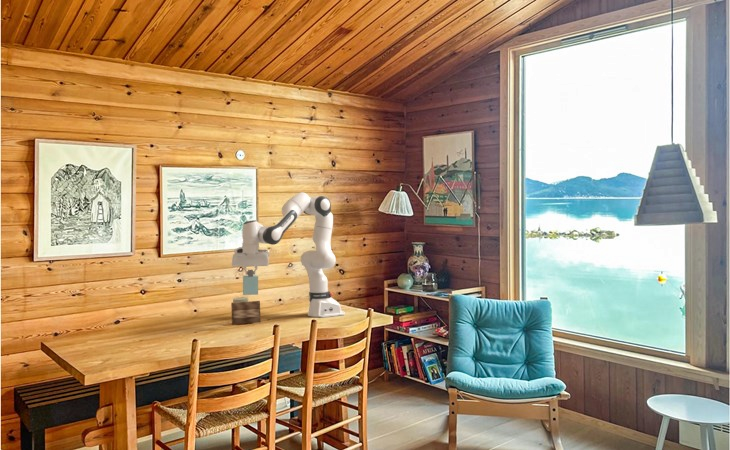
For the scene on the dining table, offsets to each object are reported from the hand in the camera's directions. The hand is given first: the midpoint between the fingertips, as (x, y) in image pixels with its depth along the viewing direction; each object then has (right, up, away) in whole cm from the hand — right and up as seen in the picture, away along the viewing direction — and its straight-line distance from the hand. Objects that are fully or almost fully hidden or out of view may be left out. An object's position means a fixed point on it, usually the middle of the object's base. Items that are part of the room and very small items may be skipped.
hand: (250, 274), depth 325 cm
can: (-11, -28, +27) cm, 41 cm away
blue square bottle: (0, -11, +2) cm, 11 cm away
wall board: (-4, -29, +9) cm, 30 cm away
